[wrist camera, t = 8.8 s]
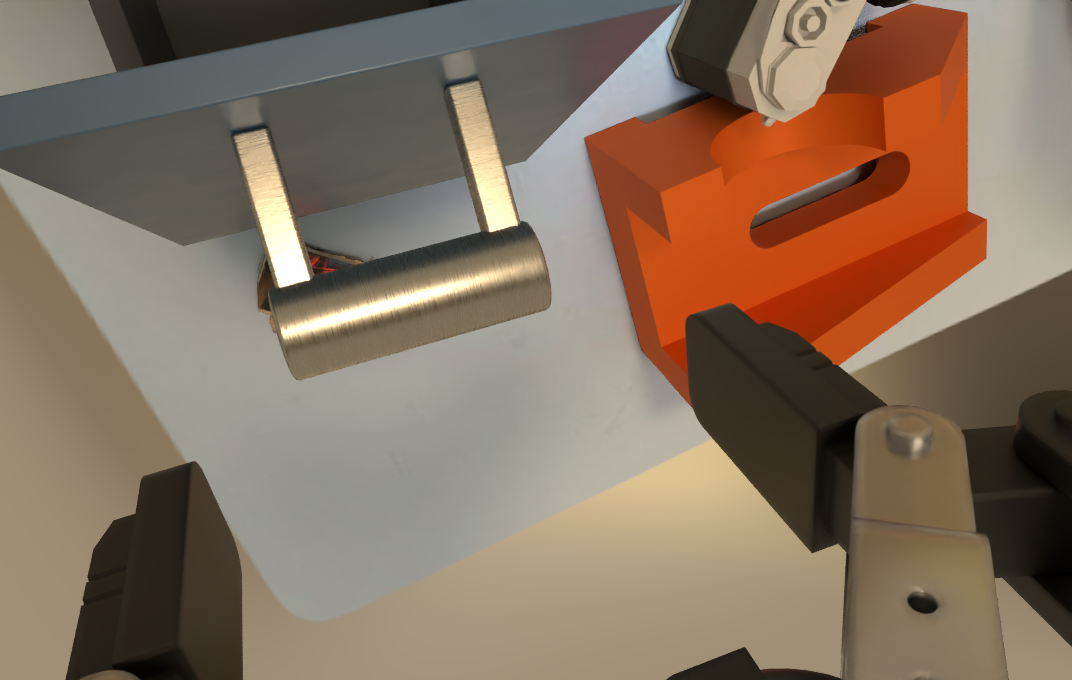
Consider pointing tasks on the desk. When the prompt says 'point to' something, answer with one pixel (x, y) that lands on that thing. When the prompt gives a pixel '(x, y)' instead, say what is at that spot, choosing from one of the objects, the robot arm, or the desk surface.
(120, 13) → the open box
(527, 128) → the lid
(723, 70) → the camera
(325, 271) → the matchbox
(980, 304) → the desk surface
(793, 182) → the orange slotted stand
